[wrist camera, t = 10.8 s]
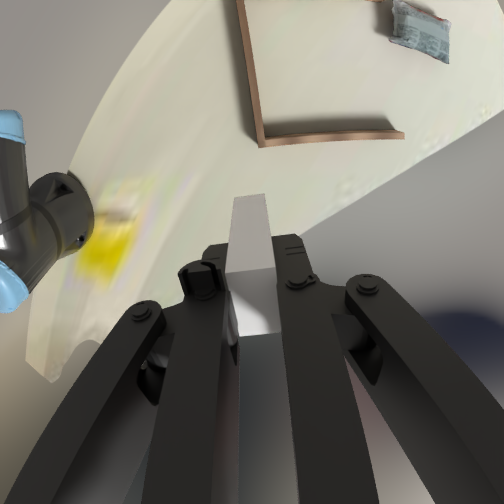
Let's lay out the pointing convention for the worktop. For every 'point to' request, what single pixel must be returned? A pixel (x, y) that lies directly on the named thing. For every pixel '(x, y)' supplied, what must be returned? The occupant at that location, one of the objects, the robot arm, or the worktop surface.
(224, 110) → the worktop surface
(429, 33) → the packaged food
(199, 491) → the robot arm
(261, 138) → the wooden frame
